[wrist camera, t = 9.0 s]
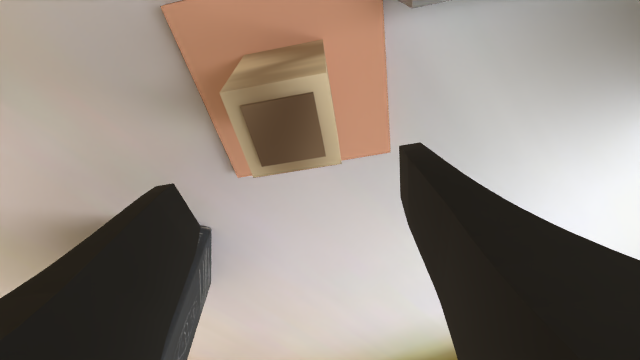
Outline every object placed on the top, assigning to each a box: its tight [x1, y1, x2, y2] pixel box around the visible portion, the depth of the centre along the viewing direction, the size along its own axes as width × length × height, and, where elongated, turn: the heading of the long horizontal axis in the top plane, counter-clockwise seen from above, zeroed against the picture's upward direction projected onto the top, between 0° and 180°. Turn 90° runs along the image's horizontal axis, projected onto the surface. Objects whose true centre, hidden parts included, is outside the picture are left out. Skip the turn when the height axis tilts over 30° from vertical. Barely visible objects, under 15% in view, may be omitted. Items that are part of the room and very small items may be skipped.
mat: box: [160, 0, 390, 178], centre depth 16 cm, size 10×10×1 cm
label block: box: [220, 39, 342, 178], centre depth 14 cm, size 4×4×5 cm
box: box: [161, 227, 211, 360], centre depth 21 cm, size 8×6×11 cm
